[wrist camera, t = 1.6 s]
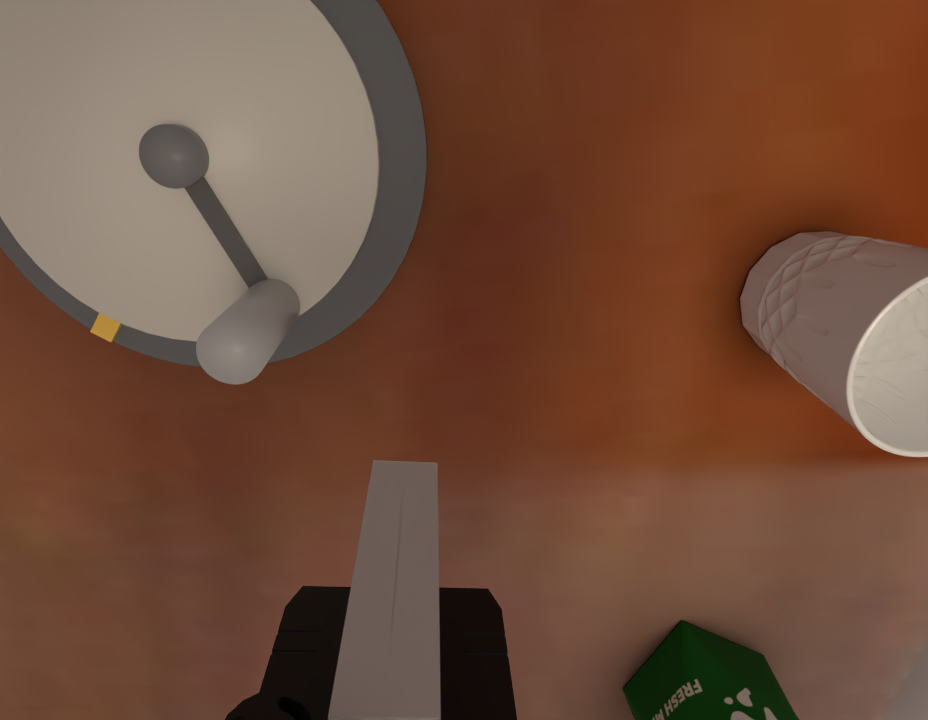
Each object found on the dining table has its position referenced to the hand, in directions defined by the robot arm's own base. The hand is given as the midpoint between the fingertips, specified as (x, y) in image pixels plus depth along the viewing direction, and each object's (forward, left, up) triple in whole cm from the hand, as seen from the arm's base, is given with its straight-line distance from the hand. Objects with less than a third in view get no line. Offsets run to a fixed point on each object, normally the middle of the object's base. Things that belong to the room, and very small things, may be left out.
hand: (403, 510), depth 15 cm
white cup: (-2, +20, -18) cm, 27 cm away
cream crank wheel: (-7, -10, -16) cm, 20 cm away
